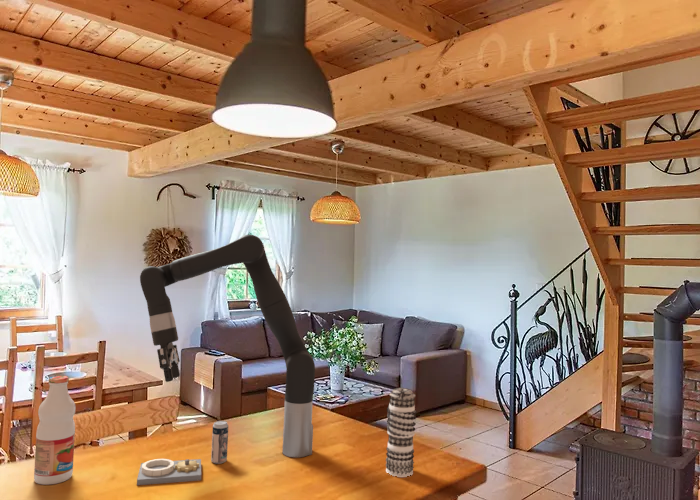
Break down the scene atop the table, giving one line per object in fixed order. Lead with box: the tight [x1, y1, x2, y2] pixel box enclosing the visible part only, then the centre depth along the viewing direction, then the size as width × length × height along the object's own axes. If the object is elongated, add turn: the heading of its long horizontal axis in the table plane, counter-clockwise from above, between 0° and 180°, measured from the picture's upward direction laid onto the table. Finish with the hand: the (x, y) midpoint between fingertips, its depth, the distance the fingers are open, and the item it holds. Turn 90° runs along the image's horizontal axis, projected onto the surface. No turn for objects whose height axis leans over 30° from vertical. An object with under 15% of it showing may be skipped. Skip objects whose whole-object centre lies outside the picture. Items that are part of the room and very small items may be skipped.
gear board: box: [136, 458, 202, 486], centre depth 151 cm, size 17×12×4 cm
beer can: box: [210, 420, 229, 465], centre depth 162 cm, size 5×5×12 cm
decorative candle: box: [385, 387, 418, 478], centre depth 160 cm, size 9×9×25 cm
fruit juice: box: [33, 375, 76, 486], centre depth 145 cm, size 9×9×28 cm
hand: (173, 379), depth 163 cm, fingers open, 8 cm apart
